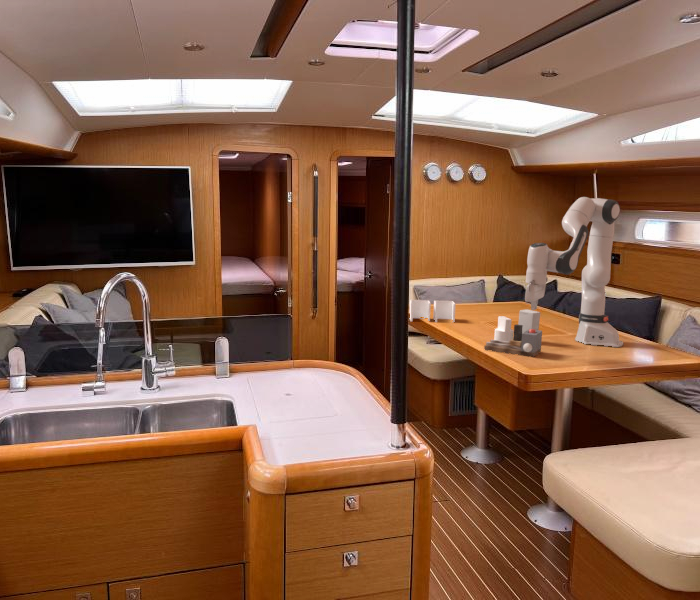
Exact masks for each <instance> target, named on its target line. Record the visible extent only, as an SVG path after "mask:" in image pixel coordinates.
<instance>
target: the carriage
mask: <svg viewBox="0 0 700 600" xmlns="http://www.w3.org/2000/svg"><path fill="white" fill-rule="evenodd" d="M522 326H523V325H518V324H517V323H516V324H514V326H513V339H512V340H510V342H509V345H511V346H518V347H521V342H522Z"/></svg>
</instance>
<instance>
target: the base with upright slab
mask: <svg viewBox="0 0 700 600" xmlns="http://www.w3.org/2000/svg"><path fill="white" fill-rule="evenodd" d="M493 336H494V337H493V340H498V341H505V342H510V340H512V339H513V337H514V329H512V319H511V318H509V317H507V316H503V315H501V316H497V327H496V328H494V335H493Z"/></svg>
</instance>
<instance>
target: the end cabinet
mask: <svg viewBox="0 0 700 600" xmlns="http://www.w3.org/2000/svg"><path fill="white" fill-rule="evenodd" d="M542 339H543V330H536V332H535V333H529V330H527V331H525V332H524V333H522V342H521V352H522V351H523V352H527V353H525V354H523V356H524V355H525V356H524V357H529V356H533V357H532V358H535V357H534V355H533V354H531V355H530V354H529V355H526V354H528V352H531V353H535V352H536V351H537V350H539V346H540V348H541V349H542ZM538 353H539V352H538ZM536 354H537V352H536ZM539 354H540V353H539ZM537 355H538V354H537ZM520 356H522V353H521V355H520ZM523 356H522V357H523Z"/></svg>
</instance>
